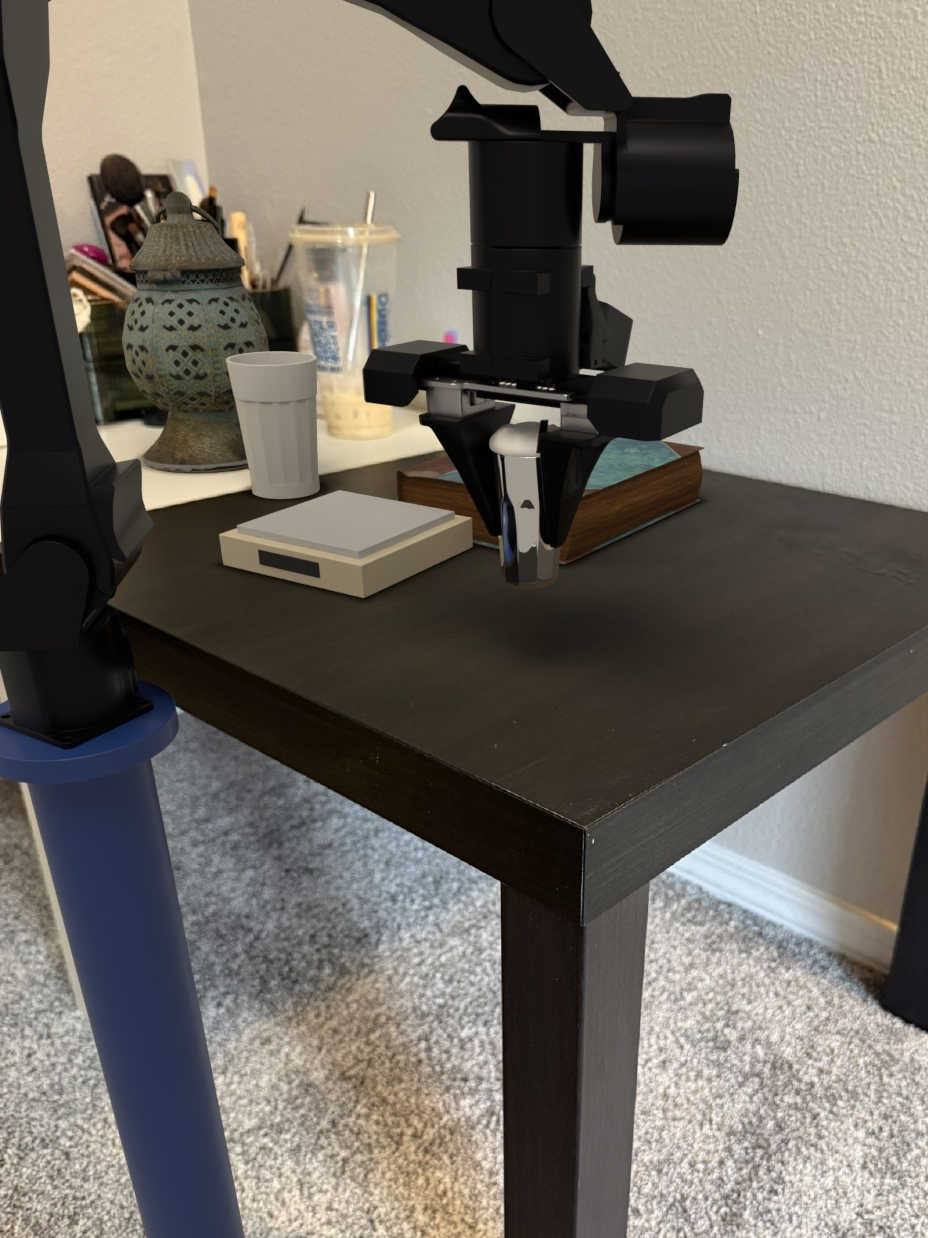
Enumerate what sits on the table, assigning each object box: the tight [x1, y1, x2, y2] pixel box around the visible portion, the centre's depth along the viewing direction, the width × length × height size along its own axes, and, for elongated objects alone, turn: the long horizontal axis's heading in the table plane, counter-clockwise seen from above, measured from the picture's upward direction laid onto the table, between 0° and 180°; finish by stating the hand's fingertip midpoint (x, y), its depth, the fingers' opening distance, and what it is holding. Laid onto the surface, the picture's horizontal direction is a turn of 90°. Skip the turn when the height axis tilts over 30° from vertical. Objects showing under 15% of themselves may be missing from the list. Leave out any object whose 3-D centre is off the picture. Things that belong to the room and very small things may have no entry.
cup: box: [226, 350, 321, 500], centre depth 101 cm, size 8×8×12 cm
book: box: [396, 423, 705, 566], centre depth 96 cm, size 23×18×5 cm
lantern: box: [121, 191, 270, 474], centre depth 109 cm, size 14×14×25 cm
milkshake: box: [489, 418, 561, 591], centre depth 62 cm, size 4×5×10 cm
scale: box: [218, 489, 474, 599], centre depth 86 cm, size 14×14×3 cm
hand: (527, 540), depth 63 cm, fingers closed on milkshake, 4 cm apart
